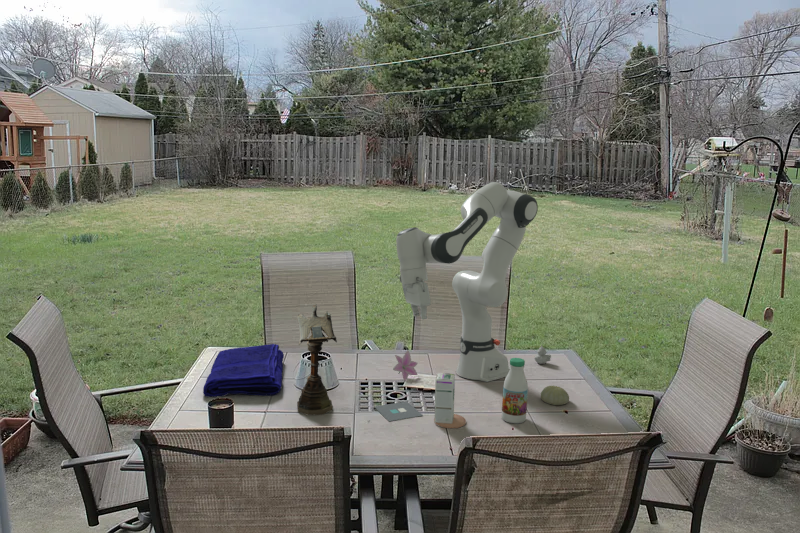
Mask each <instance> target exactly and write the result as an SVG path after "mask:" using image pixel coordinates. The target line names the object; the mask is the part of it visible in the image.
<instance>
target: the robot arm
mask: <svg viewBox="0 0 800 533" xmlns="http://www.w3.org/2000/svg"><path fill="white" fill-rule="evenodd" d="M538 208H539V206H538V202H537V200H536V198H535V197H533V196H532V195H530V194H526V193H523V192H519V191H516V190H510V189H506V187H505V186H504V185H503V184H501V183H500V182H497V181H492V182H488V183H487V184H485V185H483V186H482V187H480V188H479V189H477V190H476V191H474V192H473V193H472V194H471V195H470V196H469V197H467V198H466V199H465V201H464V202H463V203H462V204H461V207H460V214H461V218H462V219H463V221H461V223H459V224H458V225H457V226H456V227H455V228H454V229H453V230H451V231H448V232H443V233H438V234H436V233H435V234H432V233H428V232H426V231H423V230H421V229H420V228H418V227H415V226H414V227H409V228H406V229H403V230H401V231H399V232H398V233H397V235H396V241H395V242H396V243H395V244H396V245H395V246H396V254H397V258H398V260H399V272H400V276H399V282H400V283H401V286H402V291H403V295H404V299H405V302H406V303H407V304H410V308H411V311H412V315H413V317H416V318H417V317H420V319H421V320H427V319H428V315H427V312H428V306H429V307H430V306H431V304H432V299H431V294H430V291H429V290H430V289H429V285H428V283H427V282H426V281H428V280H429V279H428V272H427V264H454V263H456V262H457V261H458V260H459V259H460V257H461V256H462V254H463V252H464V250H465V248H466V247H467V245H468V244H469V243H470V242H471V240H472V239H474V238H475V236H476V235H478V233H479V232H480V231H481V230H482V229H483V228H484V227H485V225H486V224H487V223H489V221H491V220H492V219H493V218H494V217H496V218H498V219H500V221H499V224H498V226H497V227H496V228H495V229H494V231H493V233H492V234H491V237H490V238H489V240H488V242H487V244H486V245H485V247H484V249H483V250H482V253H481V259H482V261H483V266H482V269H481V272H477V271H475V270H461V271H458V272H457V273H455V275H454V276H453V279H452V281H451V288H452V290H453V292H454V294H456V296H457V299H458V302H459V308H460V311H461V319H462V323H461V324H462V326H461V327H462V328H461V329H462V330H461V337H460V343H459V344H460V345H459V346H460V347H459V350H460V354H459V358H458V364H457V367H456V371H455V372H456V375H458V376H460V377H461V378H465V379H468V380H473V381H474V380H476V381H482V382H488V383H489V382H491V381H496V380H499V379H502V378H506V376H507V375H508V373H509V370H510V364H509V360H508V357H507V356H506V354H504V353H502V351H501V350H499V349H498V348H497V347H495V345H496V346H500V345H501V341H500V340H499V339H495V338H492V332H493V330H492V327H493V318H492V315H491V314H490V313H489V311H488V309H487V307H489V308H491V307H492V308H493V307H494V308H497V307H501V306H502V305H503V304H504V303H505V302H506V300H507V298H508V295H509V294H508V293H509V292H508V286H507V284H506V279H507V272H508V269H509V268H510V265H511V263H512V261H513V259H514V257H515V256H516V254H517V252H518V250H519V248H520V246H521V244H522V243H523V239H524V236H525V233H526V230H527V229H526V227H528V226H529V224H531V223H532V221H534V220H535V218H536V216H537V213H538V211H539V210H538ZM418 307H419V308H418ZM419 309H420V311H419Z"/></svg>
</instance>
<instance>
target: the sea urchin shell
mask: <svg viewBox="0 0 800 533" xmlns="http://www.w3.org/2000/svg"><path fill="white" fill-rule="evenodd" d="M540 399H541V401H543V402H545V403H546V404H549V405H553V406H562V405H566V404H567V403H568V402H569V401H570V396H569V393H568V392H567V391H566V390H565V389H564V388H563V387H561V386H557V385H548V386H546V387H544V388H543V389H542V391H541V393H540Z"/></svg>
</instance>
